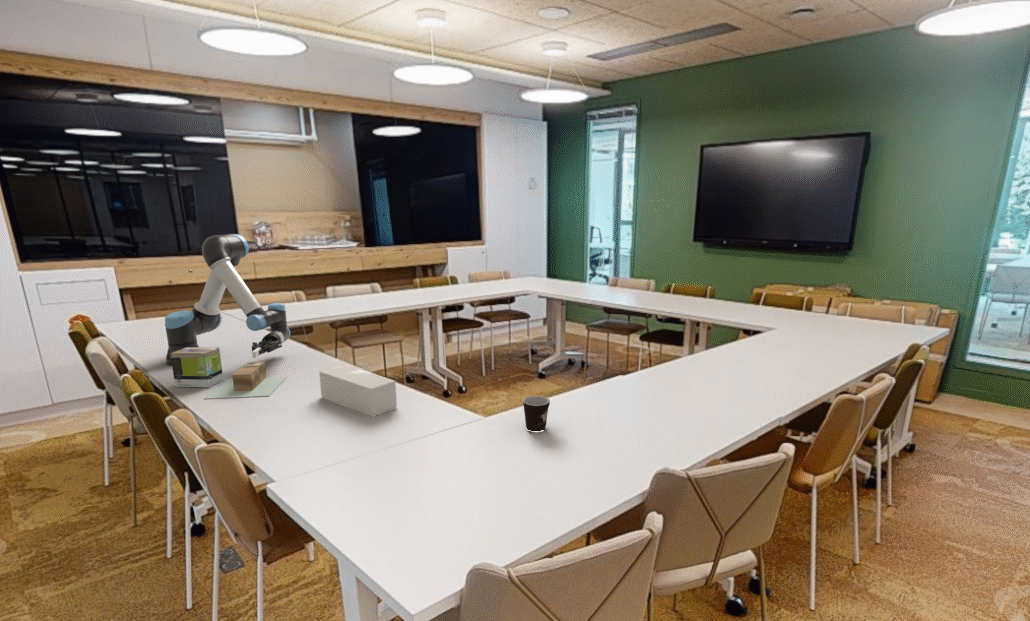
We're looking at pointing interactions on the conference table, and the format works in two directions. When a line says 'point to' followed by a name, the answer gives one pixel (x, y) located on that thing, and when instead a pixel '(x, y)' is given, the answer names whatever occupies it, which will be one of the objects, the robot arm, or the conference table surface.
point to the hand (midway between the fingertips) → (254, 354)
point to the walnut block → (249, 376)
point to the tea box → (197, 367)
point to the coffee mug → (536, 412)
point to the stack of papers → (358, 390)
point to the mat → (260, 391)
